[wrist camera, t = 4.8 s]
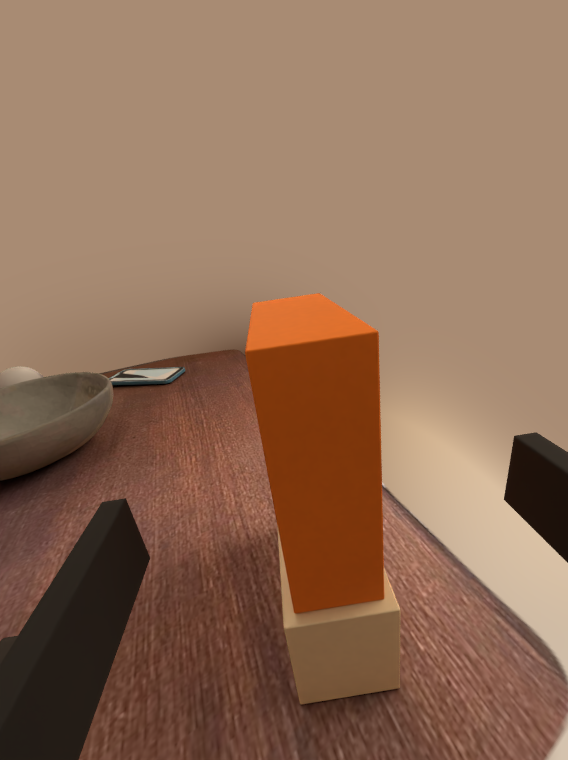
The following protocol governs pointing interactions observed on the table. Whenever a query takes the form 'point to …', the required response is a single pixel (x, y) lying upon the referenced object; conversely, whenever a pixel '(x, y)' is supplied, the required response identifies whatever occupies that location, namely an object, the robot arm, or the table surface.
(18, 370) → the round bodied animal figurine
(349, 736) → the table surface
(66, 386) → the bowl
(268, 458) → the orange rectangular block
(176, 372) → the smartphone
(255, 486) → the table surface
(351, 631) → the pad riser
